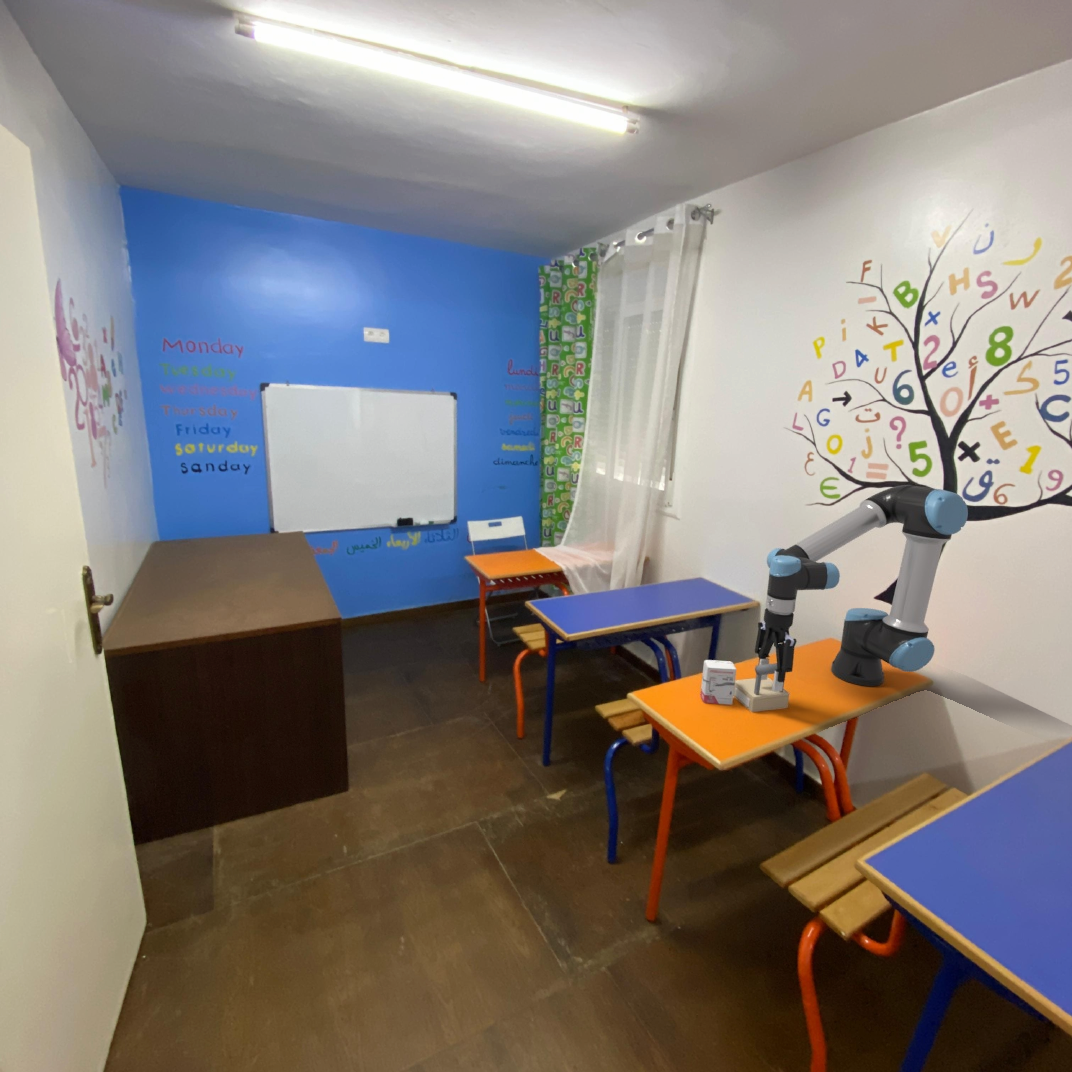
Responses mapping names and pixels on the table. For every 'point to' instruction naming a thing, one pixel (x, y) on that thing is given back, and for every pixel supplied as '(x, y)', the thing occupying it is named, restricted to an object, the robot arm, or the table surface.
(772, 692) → the flap
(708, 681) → the ink box
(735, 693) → the carton
